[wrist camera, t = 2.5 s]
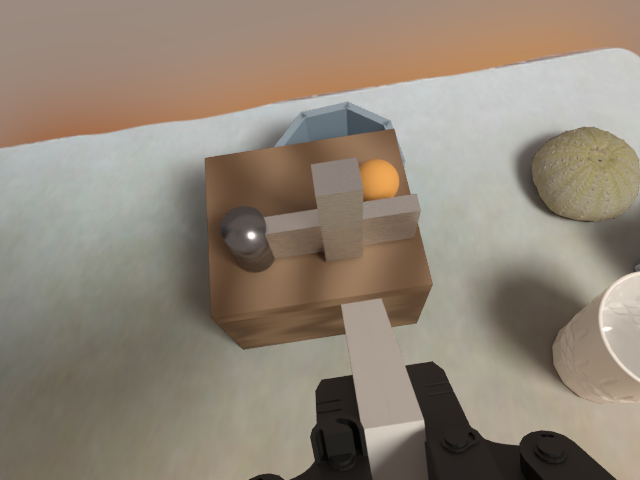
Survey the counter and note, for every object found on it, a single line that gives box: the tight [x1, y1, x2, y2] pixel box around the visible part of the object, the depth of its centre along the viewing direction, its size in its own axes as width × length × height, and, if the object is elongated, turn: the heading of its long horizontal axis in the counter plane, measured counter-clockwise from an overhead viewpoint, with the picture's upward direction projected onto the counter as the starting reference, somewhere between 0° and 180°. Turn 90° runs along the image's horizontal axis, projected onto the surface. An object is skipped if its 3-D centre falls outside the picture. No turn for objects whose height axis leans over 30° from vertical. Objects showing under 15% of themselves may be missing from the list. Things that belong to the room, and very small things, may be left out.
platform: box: [205, 129, 433, 349], centre depth 40 cm, size 15×13×10 cm
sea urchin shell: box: [531, 127, 640, 222], centre depth 44 cm, size 9×8×8 cm
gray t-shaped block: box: [220, 157, 421, 273], centre depth 30 cm, size 12×3×9 cm, turn 98°
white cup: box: [552, 271, 640, 404], centre depth 34 cm, size 8×8×10 cm
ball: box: [359, 159, 399, 202], centre depth 34 cm, size 3×3×3 cm
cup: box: [274, 102, 405, 166], centre depth 44 cm, size 10×10×7 cm
